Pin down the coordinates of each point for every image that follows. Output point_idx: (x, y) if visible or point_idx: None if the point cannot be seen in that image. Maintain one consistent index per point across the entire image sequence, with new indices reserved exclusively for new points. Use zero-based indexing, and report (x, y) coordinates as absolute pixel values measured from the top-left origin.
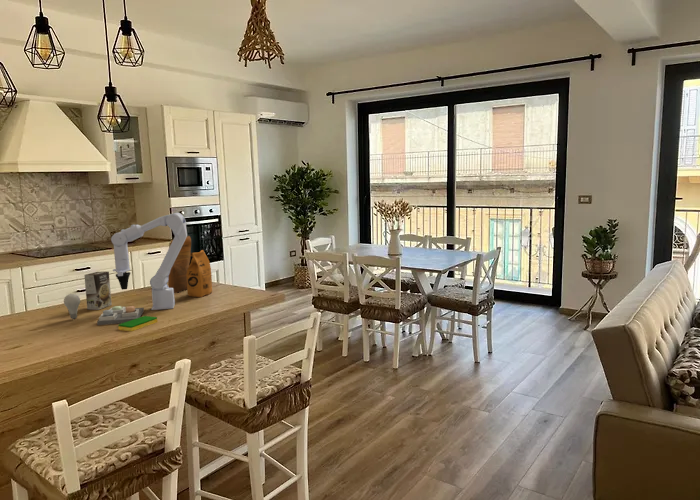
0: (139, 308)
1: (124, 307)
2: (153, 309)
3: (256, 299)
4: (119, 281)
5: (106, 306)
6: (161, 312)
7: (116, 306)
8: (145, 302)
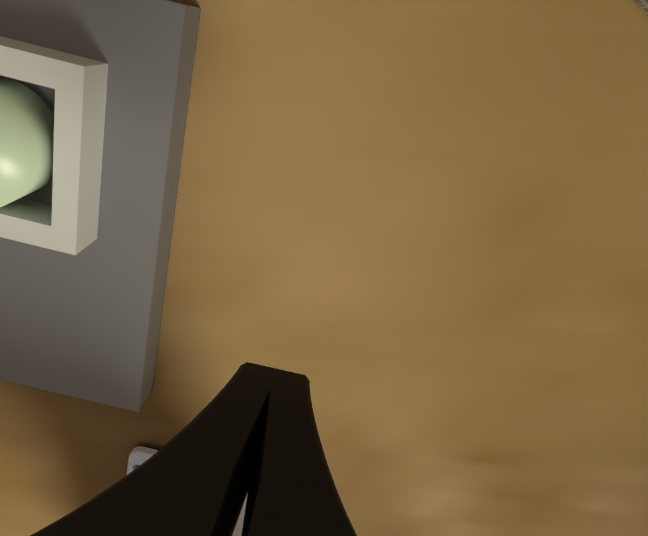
0: (108, 373)
1: (26, 240)
2: (129, 464)
3: None
4: (125, 485)
5: (642, 7)
6: (24, 493)
7: (2, 147)
8: (540, 448)
